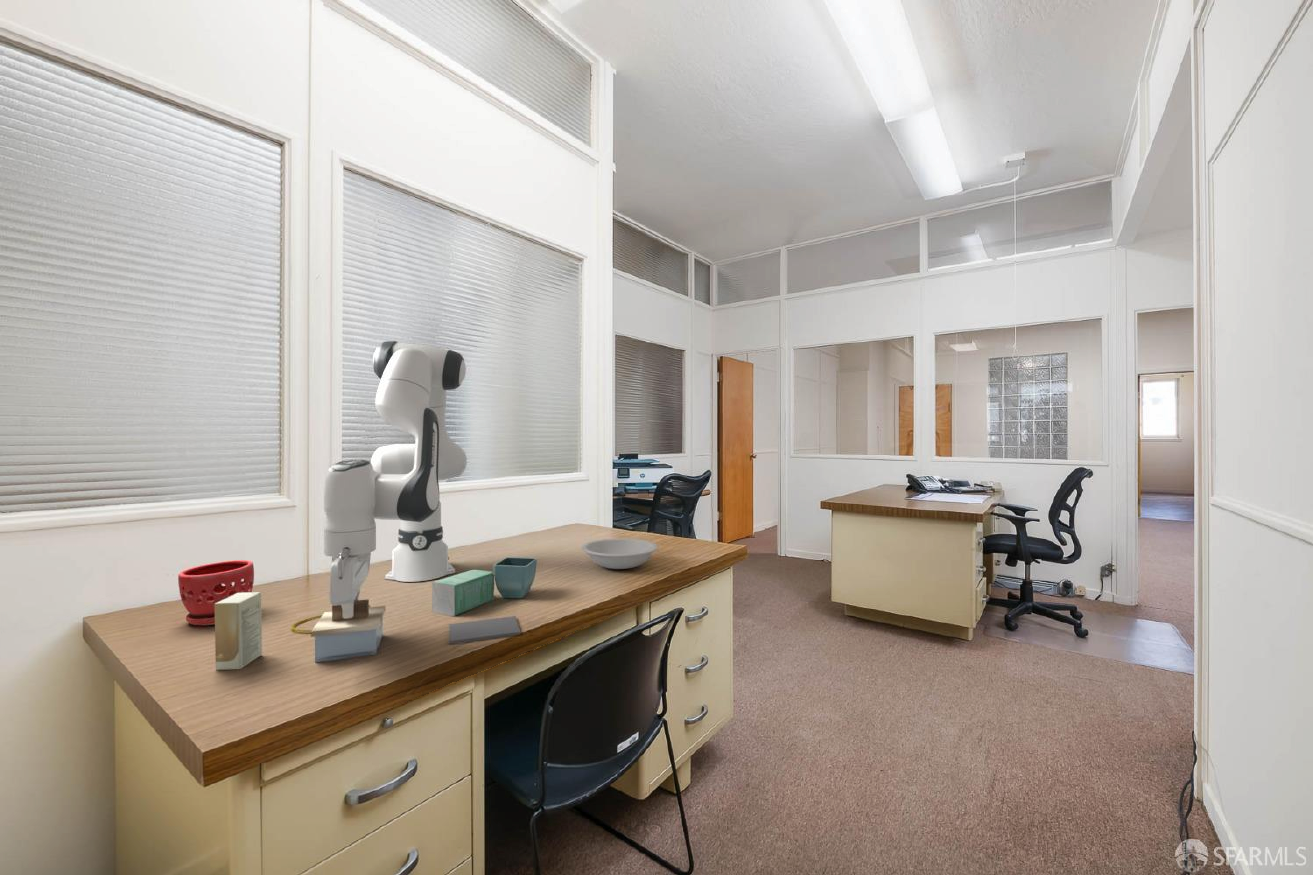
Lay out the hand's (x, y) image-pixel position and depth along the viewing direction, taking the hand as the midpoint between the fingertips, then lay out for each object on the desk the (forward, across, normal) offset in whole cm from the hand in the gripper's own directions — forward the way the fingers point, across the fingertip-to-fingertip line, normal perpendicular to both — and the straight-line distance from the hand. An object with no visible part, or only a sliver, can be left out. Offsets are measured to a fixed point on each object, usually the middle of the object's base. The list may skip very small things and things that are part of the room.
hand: (350, 613), depth 103 cm
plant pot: (+7, +29, +31) cm, 43 cm away
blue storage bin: (+7, 0, 0) cm, 7 cm away
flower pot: (+7, +22, -34) cm, 41 cm away
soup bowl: (+7, +40, -68) cm, 79 cm away
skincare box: (+7, 0, +18) cm, 19 cm away
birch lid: (+2, 0, 0) cm, 2 cm away
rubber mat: (+7, 0, -25) cm, 26 cm away
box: (+7, +18, -21) cm, 29 cm away
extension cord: (+8, +17, +6) cm, 20 cm away
